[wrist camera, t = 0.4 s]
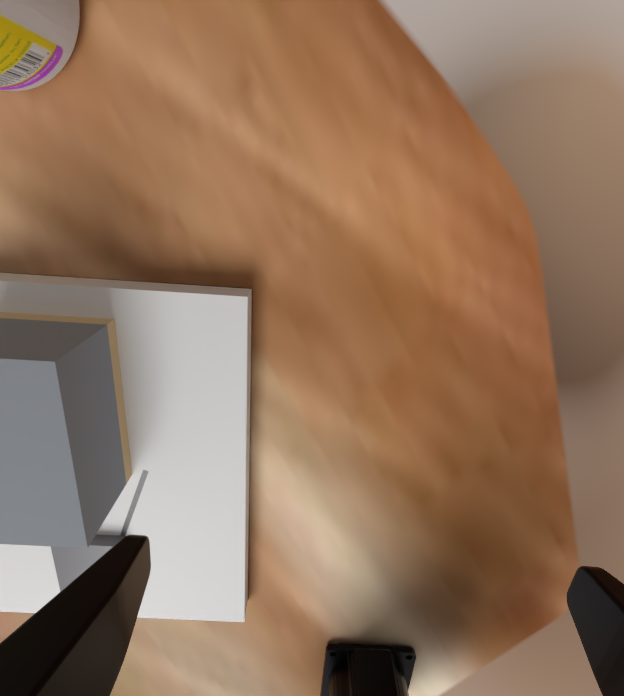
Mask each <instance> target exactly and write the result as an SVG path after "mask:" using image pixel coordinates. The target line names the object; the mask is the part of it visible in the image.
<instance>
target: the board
mask: <svg viewBox="0 0 624 696" xmlns="http://www.w3.org/2000/svg"><path fill="white" fill-rule="evenodd" d="M0 312H8V313H24V314H40V315H56V316H73V317H89V318H105V319H115V326H116V335H117V344H118V353H119V361H120V370H121V379H122V388H123V397H124V406H125V414H126V423H127V432H128V441H129V450H130V459H131V467H132V476H131V477H130V479H129V481H128V482H127V484H126V486H125V487H124V489H123V491H122V492H121V494H120V496H119V497H118V499H117V501H116V502H115V504H114V505H113V507H112V509H111V510H110V512H109V514H108V515H107V517H106V519H105V520H104V522H103V524H102V525H101V527H100V529H99V530H98V532H97V534H99V535H120V536H127V535H130V534H133V535H145V536H147V537H148V538H149V542H150V558H151V570H150V575H149V579H148V583H147V586H146V589H145V592H144V596H143V599H142V602H141V606H140V609H139V612H138V616H137V617H138V618H161V619H184V620H208V621H231V622H244V621H245V615H246V608H247V601H248V534H249V461H250V388H251V315H252V289H246V288H230V287H214V286H199V285H183V284H168V283H152V282H137V281H121V280H106V279H90V278H75V277H59V276H44V275H28V274H13V273H0ZM58 593H60V587H59V583H58V578H57V573H56V569H55V564H54V560H53V555H52V551H51V546H32V545H11V544H0V612H23V613H36V612H37V611H39V610H40V609H41V608H42V607H43V606H44V605H46V604H47V603H48V602H49V601H50V600H51V599H53V598H54V597H55V596H56V595H57V594H58Z"/></svg>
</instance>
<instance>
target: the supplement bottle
mask: <svg viewBox="0 0 624 696" xmlns="http://www.w3.org/2000/svg"><path fill="white" fill-rule="evenodd" d="M79 20H80V8H79V0H0V90H4V91H22V90H28V89H32V88H35V87H38V86H40V85H42V84H44V83H46V82H48V81H49V80H51V79H52V78H54V77H55V76H56V75H57V74H58V73H59V72H60V71H61V70H62V69H63V67H64V66H65V65H66V63H67V61H68V60H69V58H70V56H71V54H72V52H73V49H74V47H75V44H76V40H77V36H78V30H79Z"/></svg>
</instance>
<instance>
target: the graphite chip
mask: <svg viewBox="0 0 624 696" xmlns="http://www.w3.org/2000/svg"><path fill="white" fill-rule="evenodd" d="M124 537H125V536H120V535H99V534H96V535H95V537H94V539H93V540H92V542H91V543H90V545H89V547H88V548H74V547H53V546H51V551H52V555H53V560H54V564H55V569H56V573H57V578H58V583H59V587H60V592H61V591H62V590H63V589H64V588H65V587H67V586H68V585H69V584H70V583H71V582H72V581H74V580H75V579H76V578H77V577H78V576H79V575H81V574H82V573H83V572H84V571H85V570H86V569H88V568H89V567H90V566H91V565H92V564H93V563H95V562H96V561H97V560H98V559H99V558H100V557H102V556H103V555H104V554H105V553H106V552H107V551H109V550H110V549H111V548H112V547H113V546H114V545H116V544H117V543H118V542H119V541H120V540H121V539H123V538H124Z"/></svg>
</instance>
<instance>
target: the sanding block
mask: <svg viewBox="0 0 624 696" xmlns="http://www.w3.org/2000/svg"><path fill="white" fill-rule="evenodd" d="M131 476H132V467H131V459H130V450H129V441H128V432H127V423H126V414H125V406H124V397H123V388H122V379H121V370H120V361H119V353H118V344H117V335H116V326H115V319H105V318H89V317H73V316H56V315H40V314H24V313H8V312H0V544H11V545H32V546H53V547H74V548H88V547H89V545H90V543H91V542H92V540H93V539H94V537H95V535H96V534H97V532H98V530H99V529H100V527H101V525H102V524H103V522H104V520H105V519H106V517H107V515H108V514H109V512H110V510H111V509H112V507H113V505H114V504H115V502H116V501H117V499H118V497H119V496H120V494H121V492H122V491H123V489H124V487H125V486H126V484H127V482H128V481H129V479H130V477H131Z"/></svg>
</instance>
